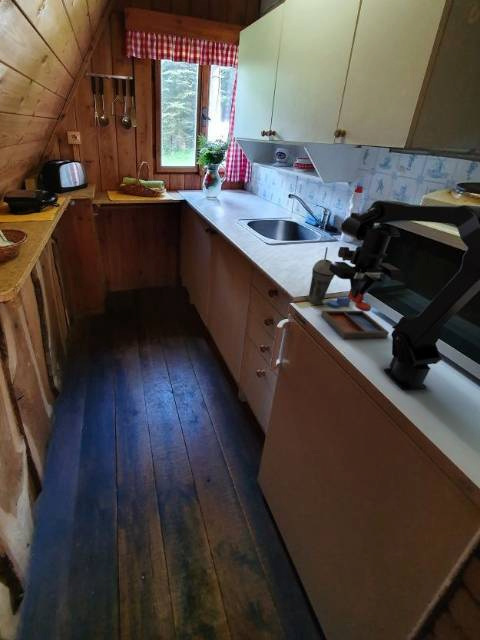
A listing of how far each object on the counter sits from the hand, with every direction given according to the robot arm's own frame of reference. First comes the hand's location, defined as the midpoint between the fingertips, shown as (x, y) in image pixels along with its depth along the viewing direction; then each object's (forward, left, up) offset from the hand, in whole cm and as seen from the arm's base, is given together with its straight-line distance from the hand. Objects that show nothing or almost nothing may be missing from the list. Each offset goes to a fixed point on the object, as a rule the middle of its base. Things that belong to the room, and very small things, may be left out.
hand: (355, 297), depth 88 cm
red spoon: (-2, 0, -1) cm, 2 cm away
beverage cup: (+16, 0, -11) cm, 20 cm away
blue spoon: (+14, -7, -11) cm, 19 cm away
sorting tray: (+1, -4, -11) cm, 12 cm away
